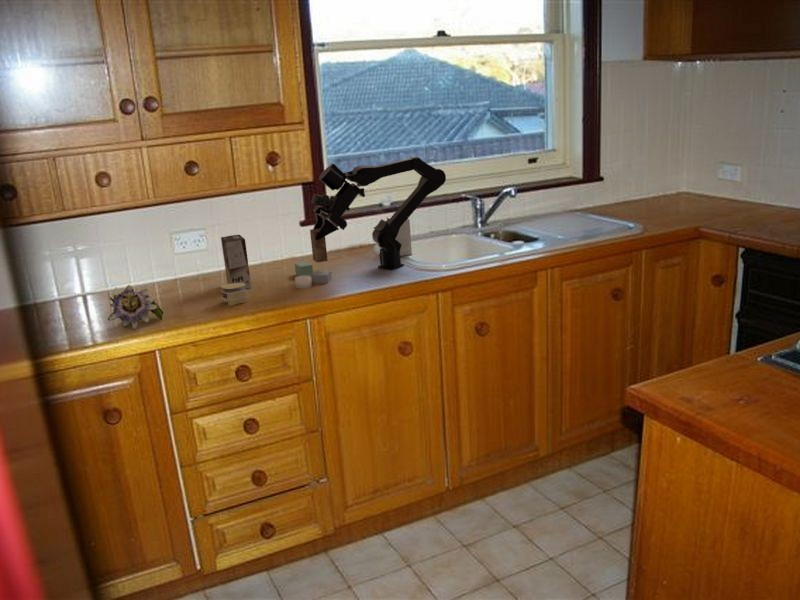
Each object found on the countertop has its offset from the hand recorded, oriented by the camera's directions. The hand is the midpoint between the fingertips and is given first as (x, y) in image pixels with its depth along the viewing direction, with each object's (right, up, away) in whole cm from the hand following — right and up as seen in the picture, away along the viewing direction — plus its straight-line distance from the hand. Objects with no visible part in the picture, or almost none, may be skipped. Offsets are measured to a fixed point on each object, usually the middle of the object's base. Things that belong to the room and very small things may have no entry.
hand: (313, 238), depth 238 cm
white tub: (-3, -16, -4) cm, 16 cm away
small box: (+28, -3, +30) cm, 41 cm away
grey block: (+3, -14, +1) cm, 14 cm away
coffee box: (-24, -16, +1) cm, 29 cm away
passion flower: (-46, -27, -29) cm, 61 cm away
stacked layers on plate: (-22, -21, -15) cm, 34 cm away
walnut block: (+2, -7, +3) cm, 8 cm away
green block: (-4, -12, +9) cm, 16 cm away
